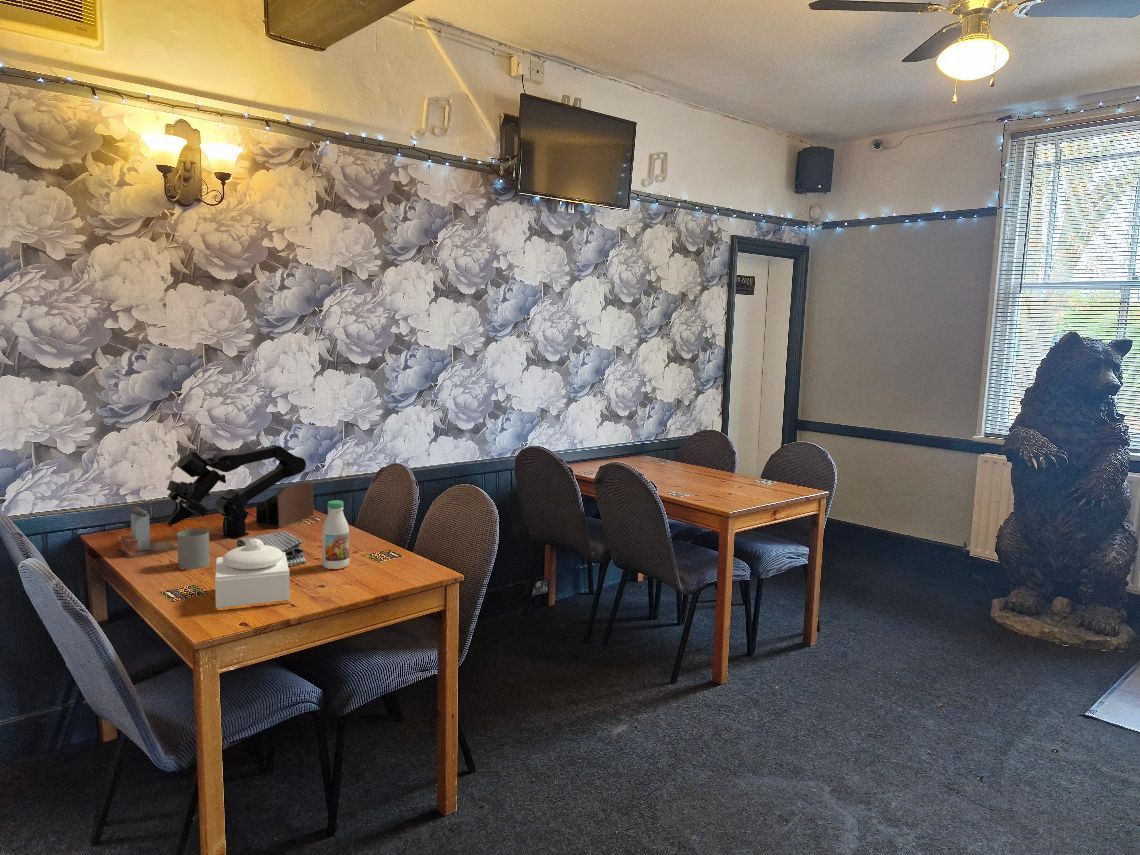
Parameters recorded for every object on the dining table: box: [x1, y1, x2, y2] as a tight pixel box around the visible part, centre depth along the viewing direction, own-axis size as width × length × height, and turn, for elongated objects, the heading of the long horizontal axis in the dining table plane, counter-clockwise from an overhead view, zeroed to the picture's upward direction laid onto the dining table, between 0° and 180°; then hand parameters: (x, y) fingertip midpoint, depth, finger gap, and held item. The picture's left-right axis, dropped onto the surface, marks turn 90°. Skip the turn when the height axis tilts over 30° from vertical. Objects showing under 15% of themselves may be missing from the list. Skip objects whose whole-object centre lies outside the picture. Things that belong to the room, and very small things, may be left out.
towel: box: [236, 530, 307, 567], centre depth 235 cm, size 15×18×8 cm
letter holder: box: [255, 481, 315, 529], centre depth 281 cm, size 10×20×14 cm, turn 162°
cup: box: [176, 528, 211, 570], centre depth 228 cm, size 8×8×10 cm
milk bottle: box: [321, 499, 350, 568], centre depth 231 cm, size 8×8×20 cm
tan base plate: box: [120, 534, 178, 558], centre depth 241 cm, size 14×9×5 cm, turn 137°
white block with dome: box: [214, 539, 291, 609], centre depth 205 cm, size 18×18×16 cm
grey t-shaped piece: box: [130, 505, 151, 551], centre depth 239 cm, size 4×8×13 cm, turn 46°
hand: (168, 525), depth 245 cm, fingers closed
